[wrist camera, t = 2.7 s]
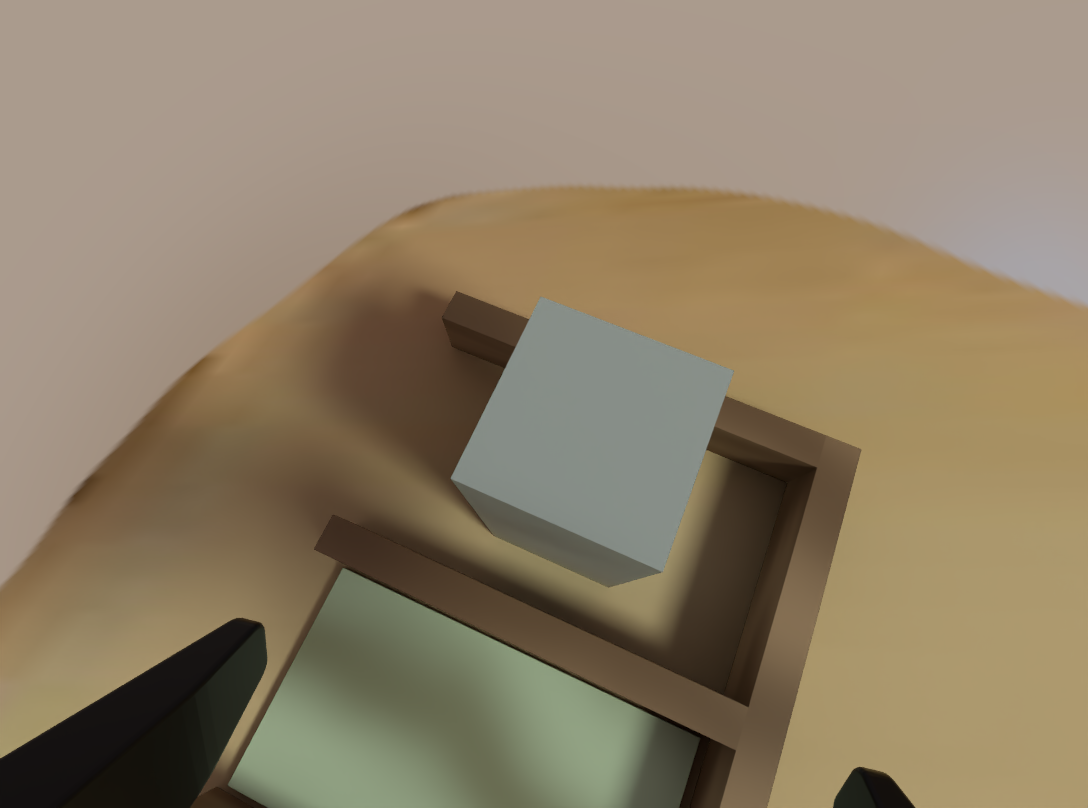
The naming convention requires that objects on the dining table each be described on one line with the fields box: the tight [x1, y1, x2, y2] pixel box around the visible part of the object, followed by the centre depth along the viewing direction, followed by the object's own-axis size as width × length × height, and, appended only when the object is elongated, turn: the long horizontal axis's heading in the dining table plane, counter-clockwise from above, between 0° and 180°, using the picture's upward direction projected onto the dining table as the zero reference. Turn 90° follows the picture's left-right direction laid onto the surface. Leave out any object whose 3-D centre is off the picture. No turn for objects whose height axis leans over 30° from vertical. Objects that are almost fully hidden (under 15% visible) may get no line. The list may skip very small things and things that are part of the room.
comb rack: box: [190, 291, 861, 808], centre depth 19 cm, size 19×15×2 cm
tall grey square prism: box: [451, 297, 734, 587], centre depth 17 cm, size 4×4×10 cm
